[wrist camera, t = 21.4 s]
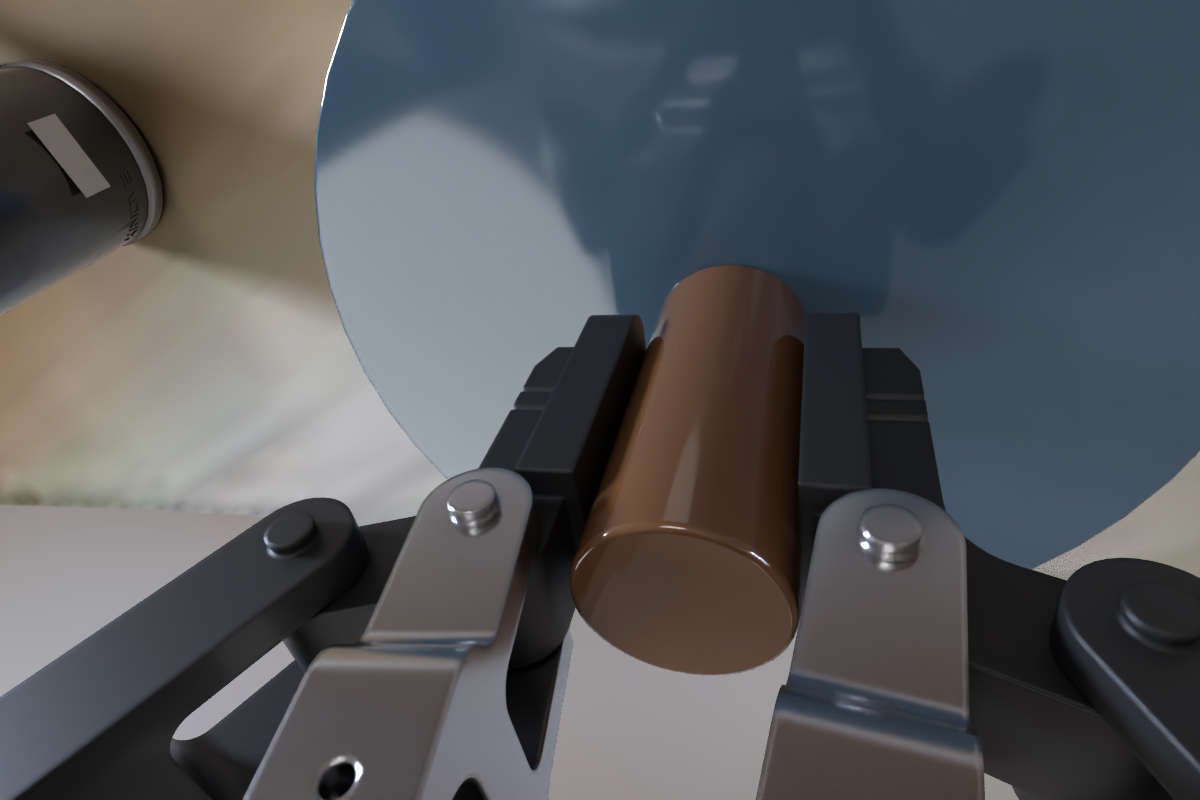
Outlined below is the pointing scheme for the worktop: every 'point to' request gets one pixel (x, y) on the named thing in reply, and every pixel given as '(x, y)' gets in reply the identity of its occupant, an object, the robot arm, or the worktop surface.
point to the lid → (776, 260)
